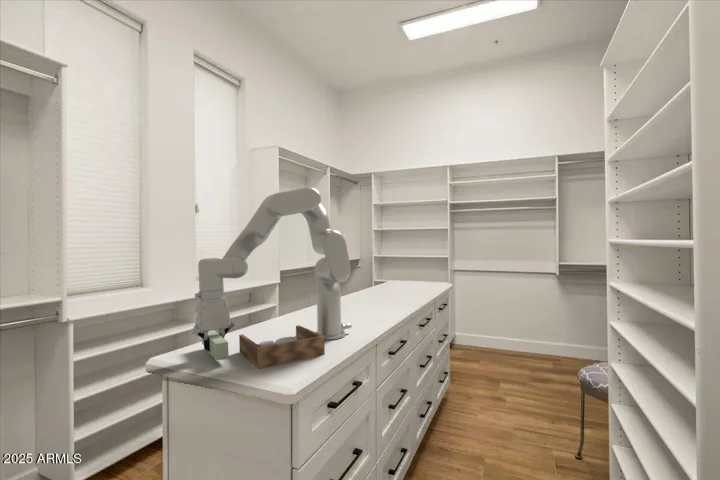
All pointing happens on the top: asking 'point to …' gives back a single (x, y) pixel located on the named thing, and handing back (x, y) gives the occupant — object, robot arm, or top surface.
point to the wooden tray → (283, 349)
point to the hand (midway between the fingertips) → (214, 349)
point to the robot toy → (277, 341)
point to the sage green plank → (217, 345)
